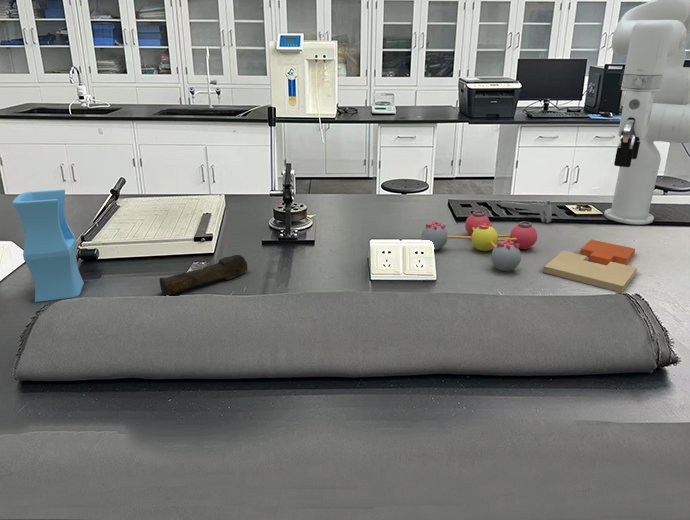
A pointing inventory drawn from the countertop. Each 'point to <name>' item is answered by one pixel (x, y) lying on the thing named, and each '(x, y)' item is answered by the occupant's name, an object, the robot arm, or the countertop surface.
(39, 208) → the vase
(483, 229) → the molecule model
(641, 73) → the robot arm
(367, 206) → the countertop surface
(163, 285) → the hand tool
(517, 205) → the caliper
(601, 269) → the notch pad
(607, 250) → the tab pad
